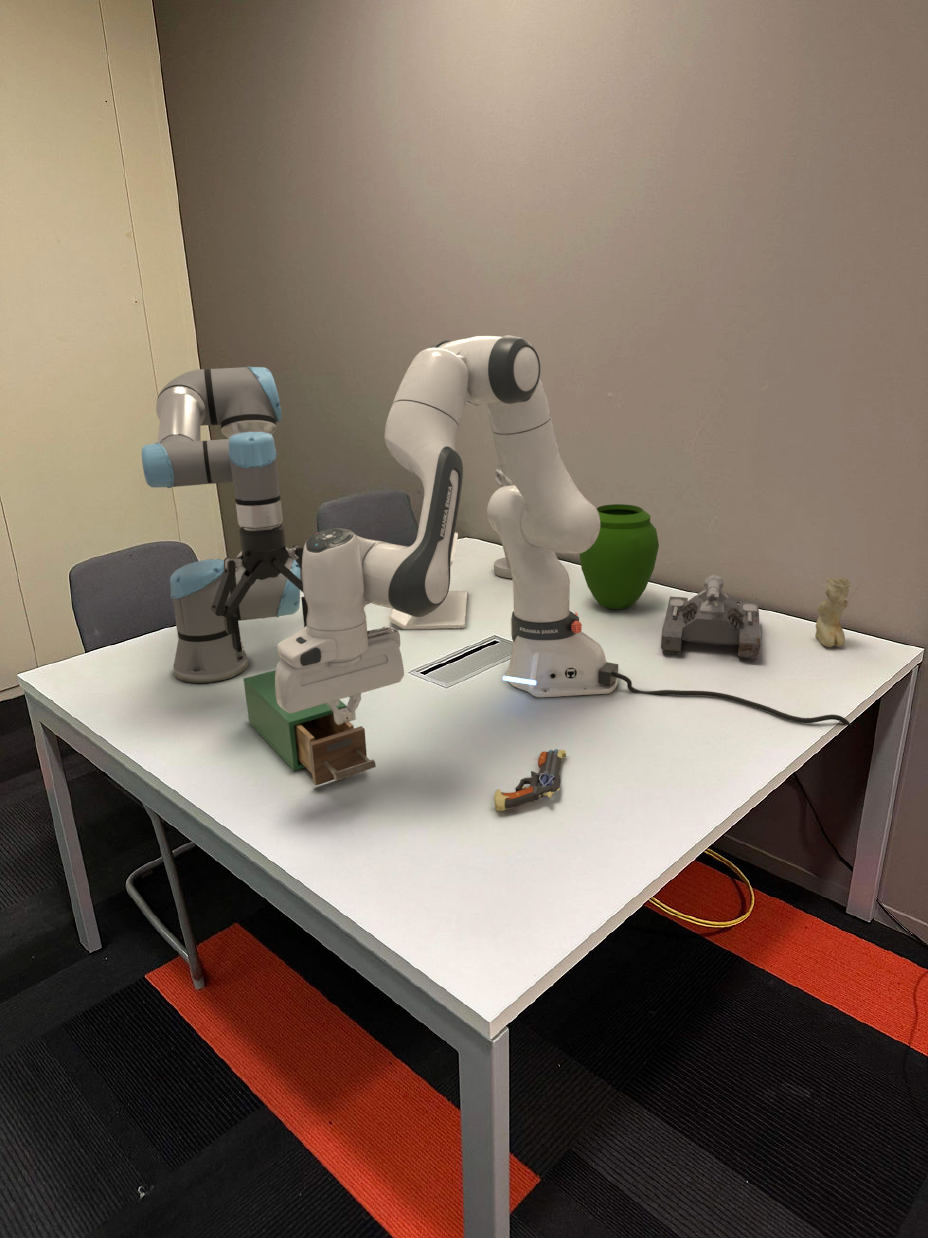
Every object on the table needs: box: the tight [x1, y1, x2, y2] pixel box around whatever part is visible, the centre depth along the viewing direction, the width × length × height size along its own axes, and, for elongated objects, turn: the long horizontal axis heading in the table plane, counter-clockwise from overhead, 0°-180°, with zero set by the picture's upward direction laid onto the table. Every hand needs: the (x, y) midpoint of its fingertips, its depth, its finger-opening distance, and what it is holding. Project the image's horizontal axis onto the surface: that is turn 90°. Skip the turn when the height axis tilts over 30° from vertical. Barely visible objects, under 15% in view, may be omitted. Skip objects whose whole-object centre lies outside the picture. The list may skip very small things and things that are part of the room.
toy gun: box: [493, 748, 567, 812], centre depth 136 cm, size 3×19×10 cm
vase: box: [578, 503, 660, 610], centre depth 210 cm, size 20×20×24 cm
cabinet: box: [243, 669, 347, 772], centre depth 152 cm, size 22×10×9 cm, turn 33°
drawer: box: [294, 714, 377, 786], centre depth 143 cm, size 26×9×7 cm, turn 33°
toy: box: [660, 574, 761, 660], centre depth 189 cm, size 25×20×15 cm
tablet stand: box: [388, 531, 468, 630], centre depth 211 cm, size 18×25×17 cm
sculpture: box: [814, 576, 852, 648], centre depth 185 cm, size 6×7×15 cm
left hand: (274, 640), depth 153 cm, fingers open, 13 cm apart
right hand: (345, 721), depth 132 cm, fingers closed
